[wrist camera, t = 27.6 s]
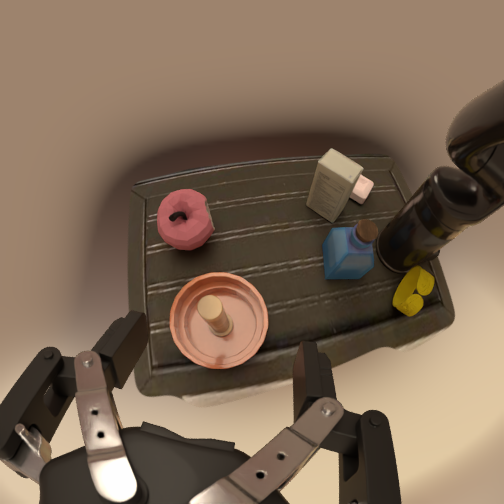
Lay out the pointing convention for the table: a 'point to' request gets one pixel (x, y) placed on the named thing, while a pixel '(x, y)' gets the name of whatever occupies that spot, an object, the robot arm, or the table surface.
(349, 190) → the cosmetic box
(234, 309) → the bowl
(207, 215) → the apple
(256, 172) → the table surface
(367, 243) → the blue potion bottle
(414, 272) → the bracelet
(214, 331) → the stick
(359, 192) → the soap bar
